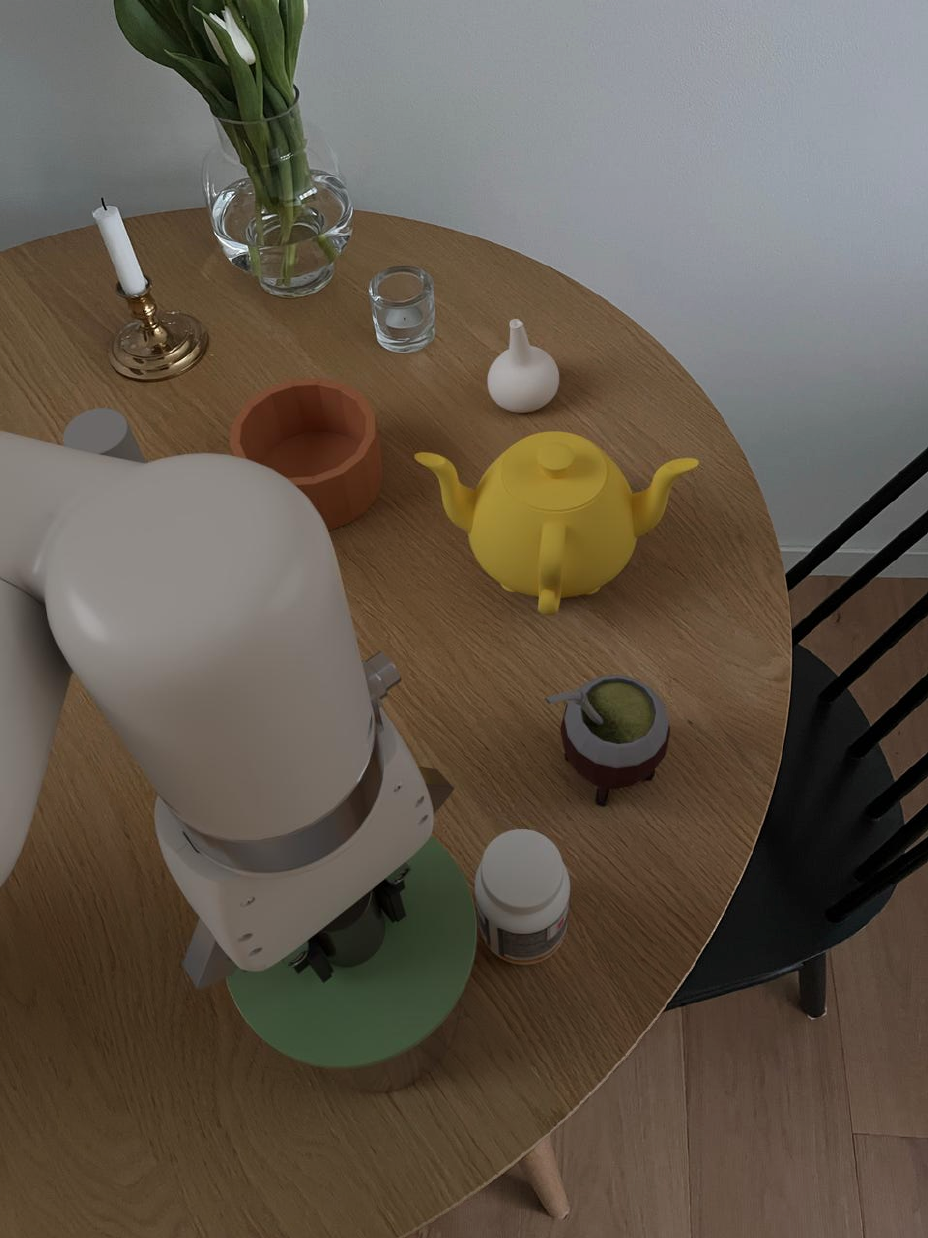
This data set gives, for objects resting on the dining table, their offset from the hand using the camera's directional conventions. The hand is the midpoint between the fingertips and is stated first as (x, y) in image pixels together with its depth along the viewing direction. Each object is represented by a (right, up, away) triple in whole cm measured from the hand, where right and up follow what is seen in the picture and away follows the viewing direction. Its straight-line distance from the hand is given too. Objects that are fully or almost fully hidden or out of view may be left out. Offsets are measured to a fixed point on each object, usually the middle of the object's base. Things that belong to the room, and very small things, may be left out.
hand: (346, 924), depth 52 cm
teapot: (+13, +19, +32) cm, 40 cm away
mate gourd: (+15, +4, +22) cm, 27 cm away
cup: (+1, -9, +14) cm, 17 cm away
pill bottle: (+9, -5, +17) cm, 20 cm away
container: (-19, +19, +34) cm, 43 cm away
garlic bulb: (+11, +35, +43) cm, 56 cm away
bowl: (-7, +27, +38) cm, 47 cm away
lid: (0, -1, +1) cm, 1 cm away
